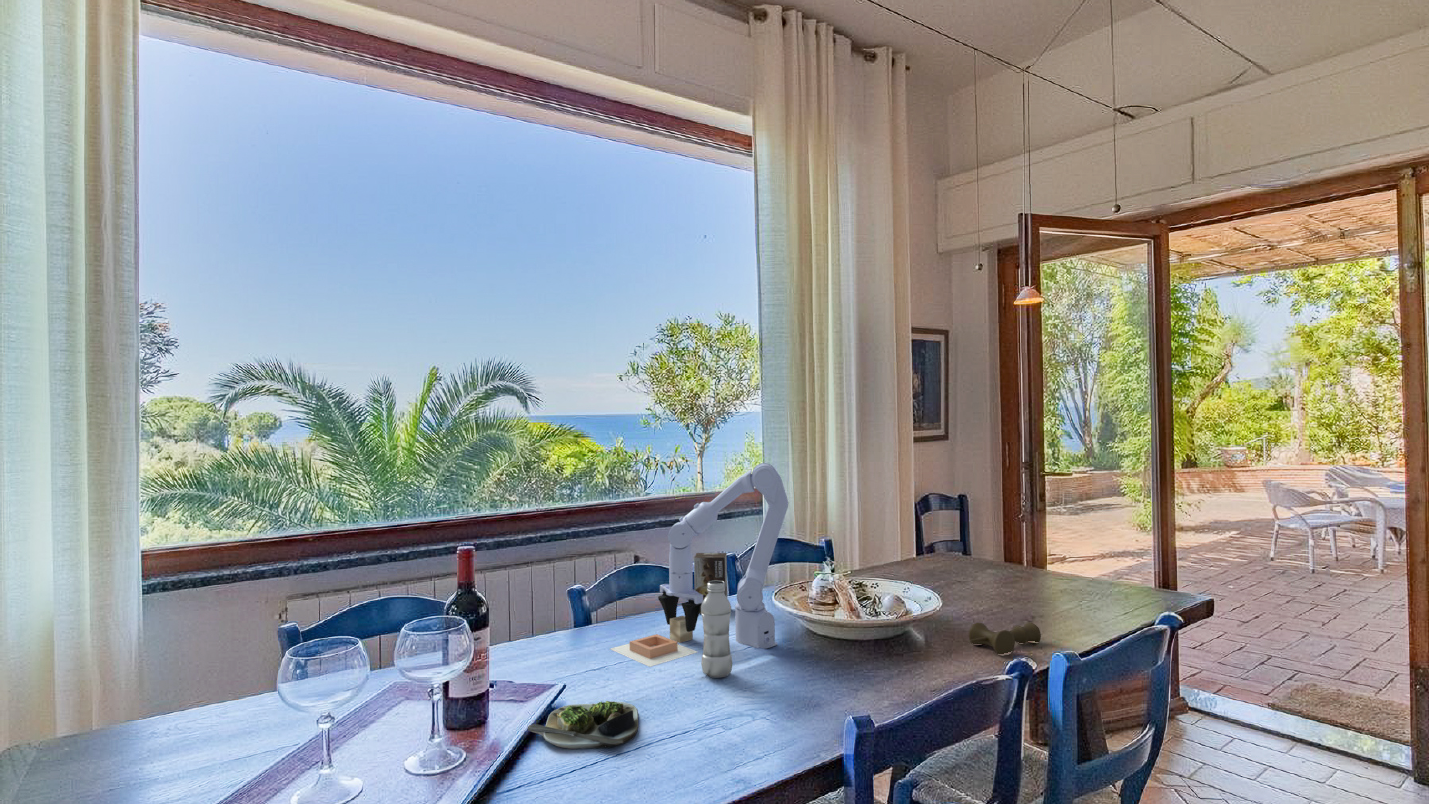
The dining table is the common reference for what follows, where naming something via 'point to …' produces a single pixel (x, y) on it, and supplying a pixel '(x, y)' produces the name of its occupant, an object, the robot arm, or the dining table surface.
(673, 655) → the cream flat mat
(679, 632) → the birch peg
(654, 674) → the dining table surface
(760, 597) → the robot arm
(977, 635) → the olive double spool shape
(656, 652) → the terracotta holder
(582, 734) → the salad plate
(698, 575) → the coffee box
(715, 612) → the plastic bottle
